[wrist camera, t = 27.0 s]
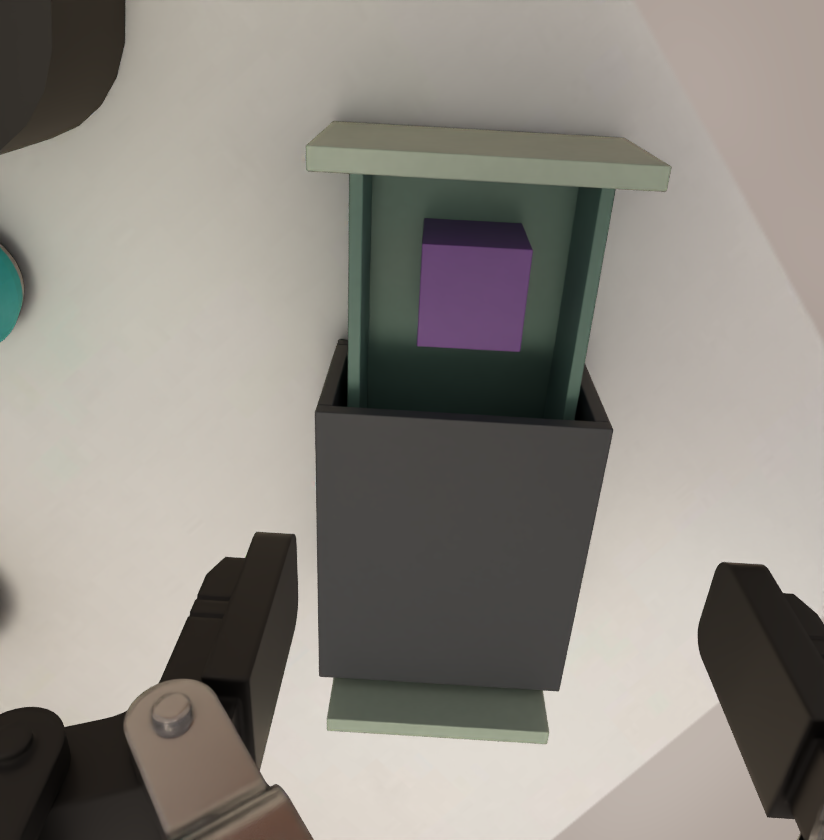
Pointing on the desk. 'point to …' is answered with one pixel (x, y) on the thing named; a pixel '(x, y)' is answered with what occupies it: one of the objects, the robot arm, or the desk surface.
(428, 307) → the purple matte cube
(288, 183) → the desk surface
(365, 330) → the sliding matchbox
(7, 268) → the beverage can
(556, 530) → the housing
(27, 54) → the tape dispenser
